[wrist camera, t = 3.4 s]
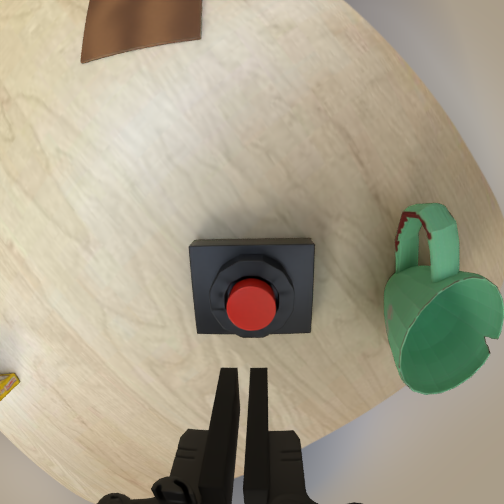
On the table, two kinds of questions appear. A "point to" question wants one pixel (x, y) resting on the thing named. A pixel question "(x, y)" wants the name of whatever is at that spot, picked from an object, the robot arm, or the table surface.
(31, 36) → the table surface
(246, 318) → the stop button
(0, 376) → the candy box
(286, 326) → the control block
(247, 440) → the robot arm
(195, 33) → the brown pad
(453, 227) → the mug
